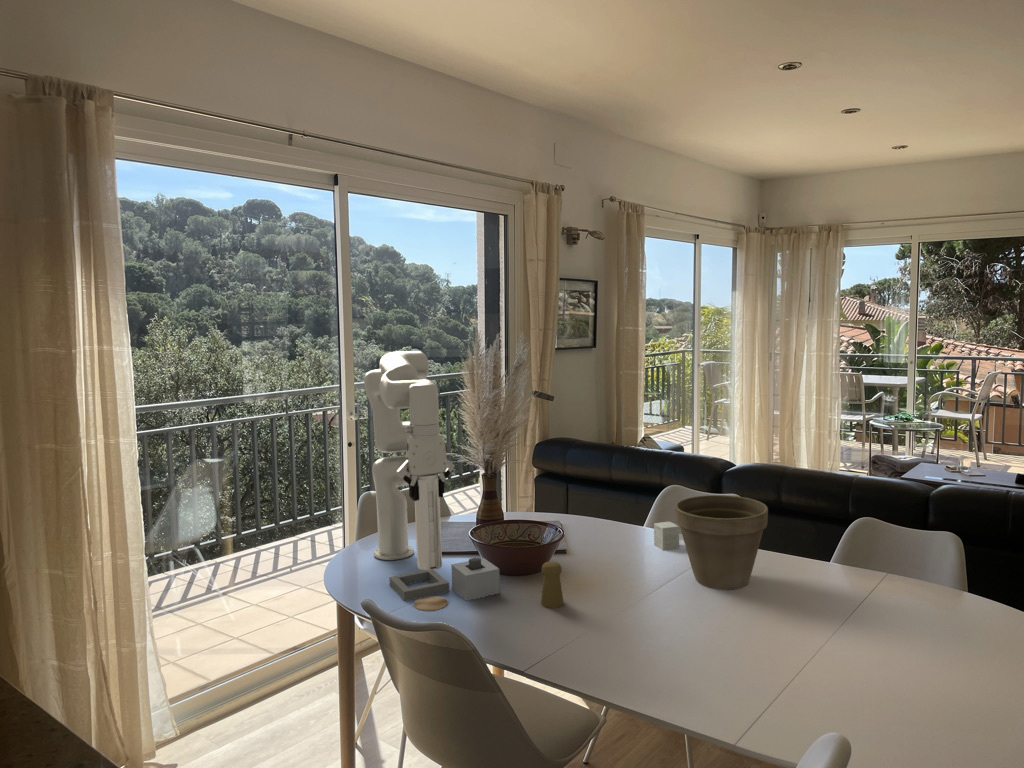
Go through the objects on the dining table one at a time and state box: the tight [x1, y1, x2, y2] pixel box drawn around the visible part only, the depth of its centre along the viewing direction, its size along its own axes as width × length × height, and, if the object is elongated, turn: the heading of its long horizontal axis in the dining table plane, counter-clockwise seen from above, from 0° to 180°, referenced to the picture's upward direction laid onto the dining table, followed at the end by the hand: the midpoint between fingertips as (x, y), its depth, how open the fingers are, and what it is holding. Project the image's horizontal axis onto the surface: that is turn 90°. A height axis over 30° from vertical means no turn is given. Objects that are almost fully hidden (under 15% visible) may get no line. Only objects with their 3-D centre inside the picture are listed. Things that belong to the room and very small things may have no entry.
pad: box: [413, 595, 449, 612], centre depth 194 cm, size 9×9×1 cm
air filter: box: [414, 474, 443, 571], centre depth 191 cm, size 6×6×25 cm
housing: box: [451, 557, 501, 601], centre depth 202 cm, size 10×10×7 cm
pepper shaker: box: [540, 561, 565, 609], centre depth 192 cm, size 6×6×11 cm
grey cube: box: [653, 521, 680, 551], centre depth 235 cm, size 6×6×7 cm
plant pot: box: [674, 494, 769, 590], centre depth 204 cm, size 25×25×22 cm
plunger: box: [468, 557, 482, 570], centre depth 201 cm, size 3×3×4 cm
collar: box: [388, 570, 450, 602], centre depth 205 cm, size 13×13×2 cm
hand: (427, 497), depth 191 cm, fingers closed on air filter, 6 cm apart
